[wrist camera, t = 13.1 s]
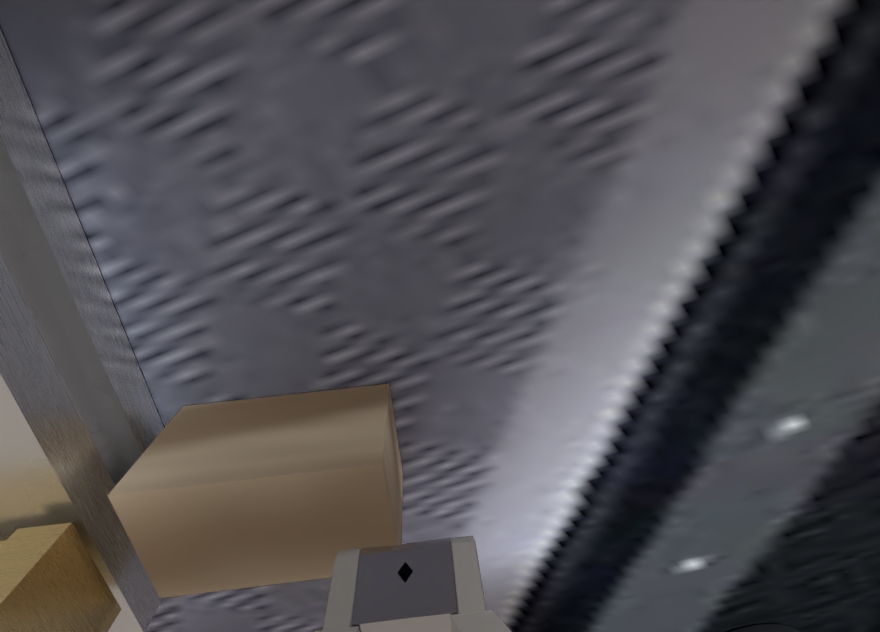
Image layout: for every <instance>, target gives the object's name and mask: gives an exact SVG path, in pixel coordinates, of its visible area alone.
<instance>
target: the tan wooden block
mask: <svg viewBox="0 0 880 632" xmlns="http://www.w3.org/2000/svg"><path fill="white" fill-rule="evenodd" d="M402 494H403V470H402V464H401V457H400V451H399V444H398V438H397V431H396V425H395V418H394V412H393V405H392V399H391V393H390V386H389V384H380V385H371V386H362V387H353V388H344V389H334V390H325V391H316V392H307V393H298V394H289V395H280V396H271V397H262V398H252V399H243V400H234V401H225V402H216V403H207V404H198V405H189V406H182V408H181V409H180V410H179V411H178V412H177V414H176V415H175V416H174V417H173V418H172V420H171V421H170V422H169V423H168V424H167V425H166V427H165V428H164V429H163V430H162V431H161V433H160V434H159V435H158V436H157V437H156V439H155V440H154V441H153V442H152V443H151V444H150V446H149V447H148V448H147V449H146V450H145V452H144V453H143V454H142V455H141V456H140V458H139V459H138V460H137V461H136V462H135V463H134V465H133V466H132V467H131V468H130V469H129V471H128V472H127V473H126V474H125V475H124V477H123V478H122V479H121V480H120V481H119V482H118V484H117V485H116V486H115V487H114V488H113V490H112V491H111V492H110V493H109V494H108V497H109V499H110V501H111V503H112V505H113V507H114V509H115V511H116V513H117V515H118V517H119V519H120V521H121V523H122V525H123V527H124V529H125V531H126V533H127V535H128V537H129V539H130V540H131V542H132V544H133V546H134V548H135V550H136V552H137V554H138V556H139V558H140V560H141V562H142V564H143V566H144V568H145V570H146V572H147V574H148V576H149V578H150V580H151V582H152V583H153V585H154V587H155V589H156V591H157V593H158V595H159V597H160V598H167V597H175V596H183V595H191V594H200V593H208V592H216V591H224V590H233V589H241V588H249V587H257V586H265V585H274V584H282V583H290V582H298V581H307V580H315V579H323V578H331V577H332V573H333V567H334V561H335V557H336V555H337V553H338V551H339V550H349V549H359V548H369V547H381V546H393V545H402Z"/></svg>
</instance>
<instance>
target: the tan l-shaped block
mask: <svg viewBox="0 0 880 632" xmlns="http://www.w3.org/2000/svg"><path fill="white" fill-rule="evenodd" d="M120 611H121V607H120V606H119V604H118V602H117V600H116V599H115V597H114V595H113V593H112V592H111V590H110V588H109V586H108V585H107V583H106V581H105V579H104V578H103V576H102V574H101V572H100V571H99V569H98V567H97V565H96V564H95V562H94V560H93V558H92V557H91V555H90V553H89V551H88V550H87V548H86V546H85V544H84V543H83V541H82V539H81V537H80V536H79V534H78V532H77V531H76V529H75V527H74V525H73V524H72V523H63V524H54V525H46V526H37V527H29V528H20V529H17V530H16V531H15V532H14V533H13V534H12V535H11V536H10V537H9V538H8V539H7V540H5V541H0V632H108V631H109V629H110V627H111V626H112V624H113V622H114V621H115V619H116V617H117V616H118V614H119V613H120Z"/></svg>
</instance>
